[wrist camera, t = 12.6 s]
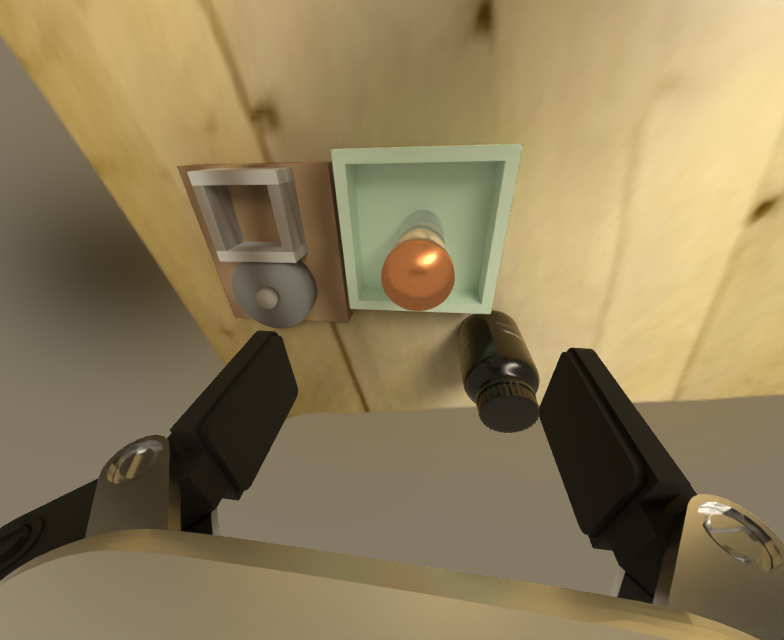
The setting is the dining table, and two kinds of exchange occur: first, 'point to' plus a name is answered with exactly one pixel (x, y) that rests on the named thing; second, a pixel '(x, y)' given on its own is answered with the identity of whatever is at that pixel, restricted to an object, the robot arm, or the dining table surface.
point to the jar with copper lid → (419, 264)
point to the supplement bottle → (498, 372)
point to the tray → (433, 193)
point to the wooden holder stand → (273, 238)
